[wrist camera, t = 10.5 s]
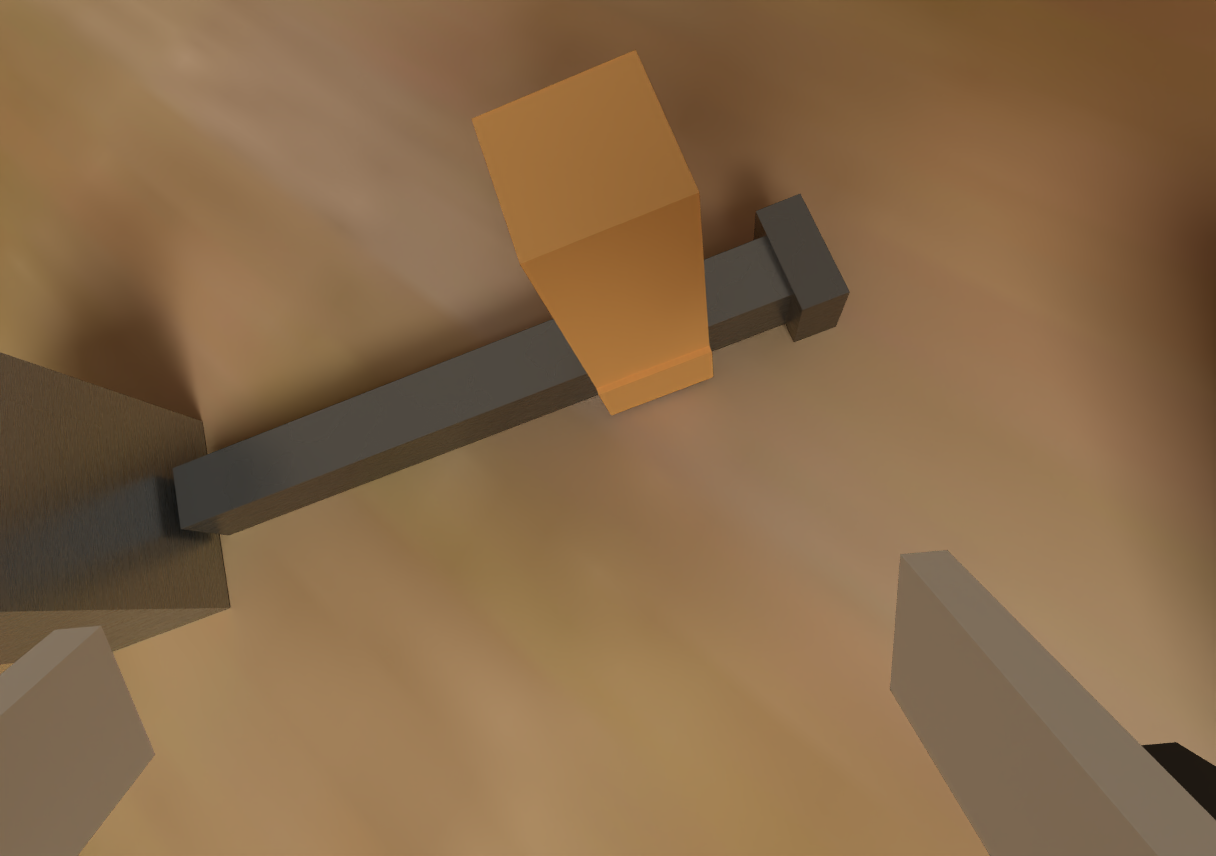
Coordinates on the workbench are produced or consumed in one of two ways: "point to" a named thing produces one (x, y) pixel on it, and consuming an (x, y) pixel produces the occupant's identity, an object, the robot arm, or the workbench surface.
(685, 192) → the carriage
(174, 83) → the workbench surface
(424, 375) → the guide rail
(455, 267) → the workbench surface
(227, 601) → the cabinet
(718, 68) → the workbench surface
